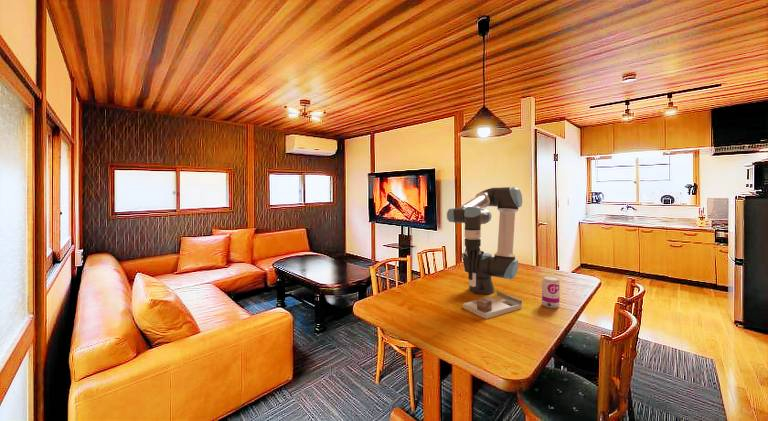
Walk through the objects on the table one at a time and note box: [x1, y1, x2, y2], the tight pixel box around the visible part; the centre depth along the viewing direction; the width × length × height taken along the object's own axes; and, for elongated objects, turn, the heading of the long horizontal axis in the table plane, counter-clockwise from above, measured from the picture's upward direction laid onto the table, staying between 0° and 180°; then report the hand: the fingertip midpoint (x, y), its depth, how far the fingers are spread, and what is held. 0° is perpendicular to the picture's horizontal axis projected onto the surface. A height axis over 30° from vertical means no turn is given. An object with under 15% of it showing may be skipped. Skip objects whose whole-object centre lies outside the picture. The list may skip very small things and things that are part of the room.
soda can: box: [541, 276, 561, 309], centre depth 163 cm, size 8×8×15 cm
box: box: [462, 291, 523, 320], centre depth 162 cm, size 26×16×4 cm, turn 118°
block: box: [476, 297, 492, 313], centre depth 154 cm, size 5×5×5 cm
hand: (472, 285), depth 149 cm, fingers closed
